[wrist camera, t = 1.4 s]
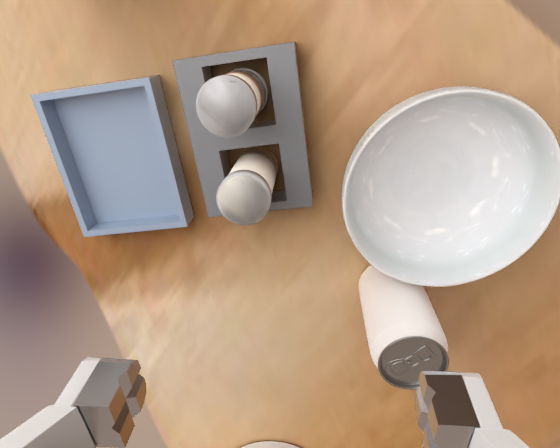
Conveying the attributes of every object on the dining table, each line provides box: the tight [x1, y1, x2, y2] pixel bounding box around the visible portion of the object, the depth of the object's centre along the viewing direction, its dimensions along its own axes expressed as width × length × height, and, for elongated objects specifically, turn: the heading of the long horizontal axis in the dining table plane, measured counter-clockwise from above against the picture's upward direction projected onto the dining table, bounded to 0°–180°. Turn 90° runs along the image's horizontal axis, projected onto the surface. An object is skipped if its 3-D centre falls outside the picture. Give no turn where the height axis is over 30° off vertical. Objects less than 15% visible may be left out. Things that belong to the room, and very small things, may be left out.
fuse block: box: [172, 42, 313, 225], centre depth 34 cm, size 14×10×9 cm
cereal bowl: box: [342, 86, 560, 287], centre depth 35 cm, size 17×17×7 cm
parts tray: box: [31, 75, 194, 237], centre depth 39 cm, size 14×11×2 cm
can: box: [359, 265, 449, 389], centre depth 38 cm, size 6×6×12 cm
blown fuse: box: [196, 67, 268, 138], centre depth 32 cm, size 4×4×9 cm
